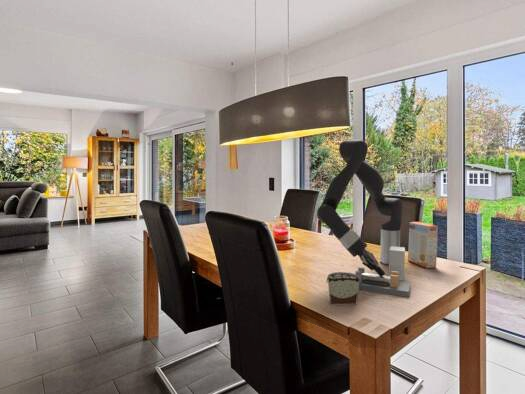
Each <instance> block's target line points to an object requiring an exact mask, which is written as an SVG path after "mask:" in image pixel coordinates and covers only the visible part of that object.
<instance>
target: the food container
mask: <svg viewBox="0 0 525 394" xmlns="http://www.w3.org/2000/svg"><path fill="white" fill-rule="evenodd" d="M359 282H361V278H360V276H358V275H356V273H351V272H344V271H343V272H342V271H340V272H339V271H337V272H331V273H329V274H328V275H327V277H326V283H328V294H329V302H330V303H329V304H330V306H335V305H339V306H341V305H342V306H344V305H357V304H358V297H359Z"/></svg>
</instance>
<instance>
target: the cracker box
mask: <svg viewBox="0 0 525 394" xmlns="http://www.w3.org/2000/svg"><path fill="white" fill-rule="evenodd" d="M408 223H409V227H408V228H409V229H408V249H407V250H408V251H407V261H408V262H409V261H411V262H410V263H412V262H413V263H412V264H414V263H415V264H414V265H417V264H418V265H417V266H419V265H420V267H421V268H424V267H425V269H435V268H434V267H436V268H437V255H438V235H439V231H438V229H439V225H435V224H431V223H426V222H421V221H411V222H410V221H409V222H408Z"/></svg>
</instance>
